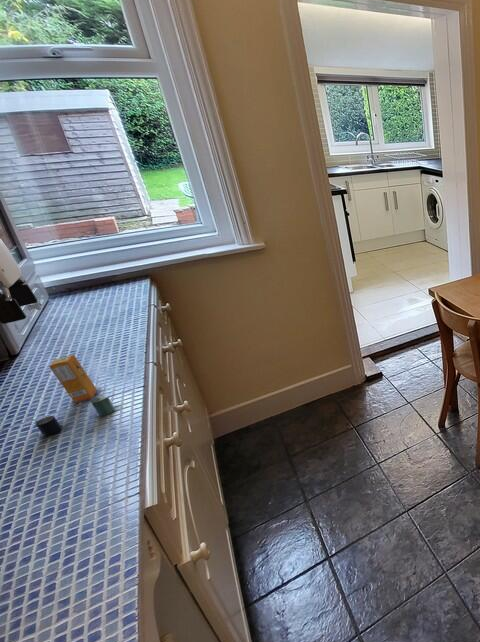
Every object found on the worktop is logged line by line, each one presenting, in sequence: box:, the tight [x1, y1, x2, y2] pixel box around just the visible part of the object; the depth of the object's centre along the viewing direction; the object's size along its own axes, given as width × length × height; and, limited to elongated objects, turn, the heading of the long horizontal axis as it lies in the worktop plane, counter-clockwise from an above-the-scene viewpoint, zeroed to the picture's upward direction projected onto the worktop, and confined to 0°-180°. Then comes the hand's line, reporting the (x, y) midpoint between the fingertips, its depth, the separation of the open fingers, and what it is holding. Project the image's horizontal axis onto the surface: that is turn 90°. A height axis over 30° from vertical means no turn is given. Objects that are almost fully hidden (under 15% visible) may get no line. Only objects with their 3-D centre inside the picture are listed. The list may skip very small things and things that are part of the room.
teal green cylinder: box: [90, 394, 116, 417], centre depth 85 cm, size 3×3×4 cm
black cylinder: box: [35, 415, 63, 438], centre depth 81 cm, size 3×3×3 cm
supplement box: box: [48, 354, 98, 404], centre depth 89 cm, size 3×3×10 cm
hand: (21, 312), depth 79 cm, fingers open, 9 cm apart
